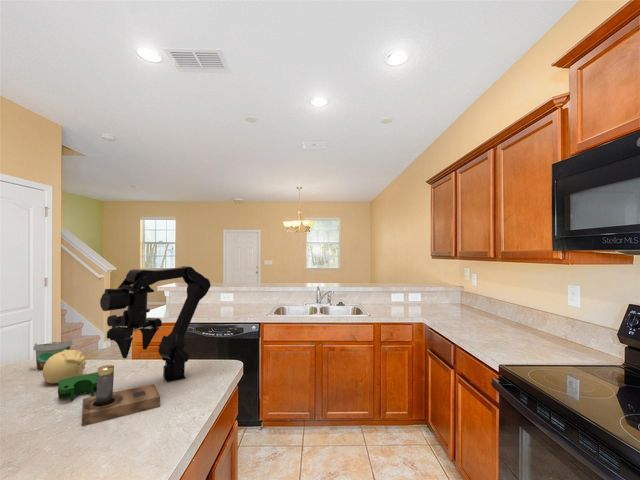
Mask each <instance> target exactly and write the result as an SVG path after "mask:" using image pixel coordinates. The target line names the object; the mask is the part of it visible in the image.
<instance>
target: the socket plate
mask: <svg viewBox="0 0 640 480" xmlns="http://www.w3.org/2000/svg"><path fill="white" fill-rule="evenodd" d="M159 407H161V395H160V393H159V391H158V389H157V387H156V385H155V383H152V384H148V385H143V386H142V385H141V386H139V387H138V386H137V387H134V388H128V389H123V390H119V391H113V400H112V403H111V404H109V405H106V406H101V407H96V395H94V396H90V397H86V398H83V399H82V414H81V427H84V426H88V425H91V424H96V423H99V422H103V421H107V420H111V419H117V418H119V417H123V416H126V415H127V416H128V415H132V414H135V413H139V412H143V411H147V410H151V409H152V410H153V409H155V408H159Z"/></svg>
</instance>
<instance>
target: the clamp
mask: <svg viewBox="0 0 640 480" xmlns="http://www.w3.org/2000/svg"><path fill="white" fill-rule="evenodd" d="M97 374H98V371H95V372H92V373H86V374H81V375H80V376H76V377H71V378H66V379H62V380H59V383H57V384H58V385H57V397H58V398H59V399H64V398H69V399H70V402H73V401H74V397H75V396H79V395H83V394H86V393H87V394H90V397H94V396H93V395H94V394H93V393H94V392H95V391H97Z"/></svg>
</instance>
